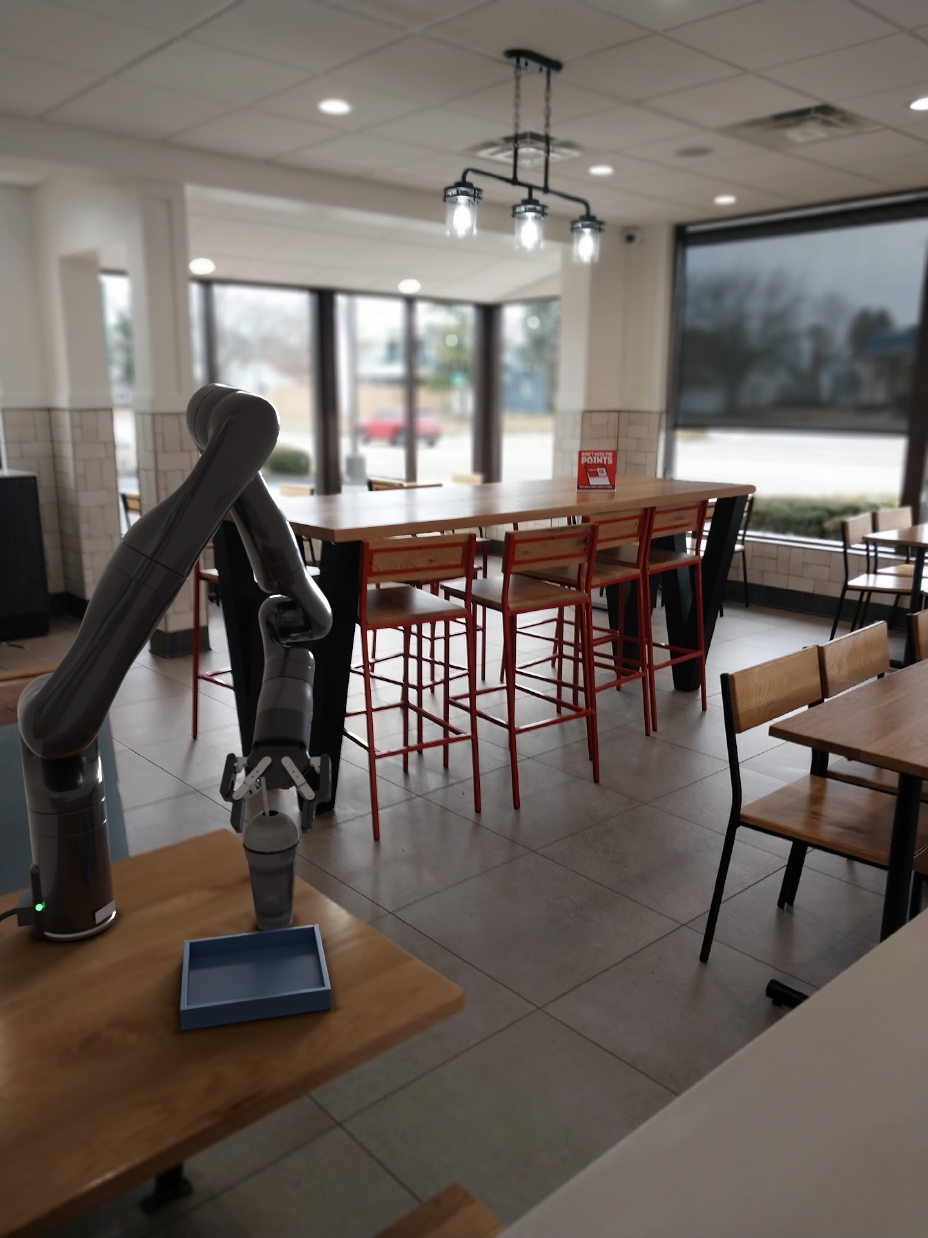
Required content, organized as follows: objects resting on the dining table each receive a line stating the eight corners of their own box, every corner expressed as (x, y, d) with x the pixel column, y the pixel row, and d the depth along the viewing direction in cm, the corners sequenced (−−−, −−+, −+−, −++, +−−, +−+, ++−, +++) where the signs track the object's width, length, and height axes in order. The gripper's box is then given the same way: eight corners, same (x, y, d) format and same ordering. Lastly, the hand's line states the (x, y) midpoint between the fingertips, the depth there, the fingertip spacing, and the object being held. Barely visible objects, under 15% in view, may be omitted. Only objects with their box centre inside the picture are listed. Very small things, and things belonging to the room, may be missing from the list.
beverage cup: (272, 944, 119) (266, 795, 115) (234, 925, 123) (227, 781, 119) (314, 920, 125) (310, 777, 121) (277, 903, 129) (271, 764, 125)
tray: (181, 1031, 102) (179, 1010, 102) (185, 959, 116) (184, 940, 115) (331, 1009, 106) (330, 989, 106) (318, 942, 120) (318, 924, 119)
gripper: (226, 705, 127) (209, 821, 118) (332, 705, 127) (323, 821, 118) (237, 730, 133) (222, 841, 125) (338, 730, 134) (330, 841, 125)
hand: (271, 831), depth 122 cm, fingers open, 8 cm apart
